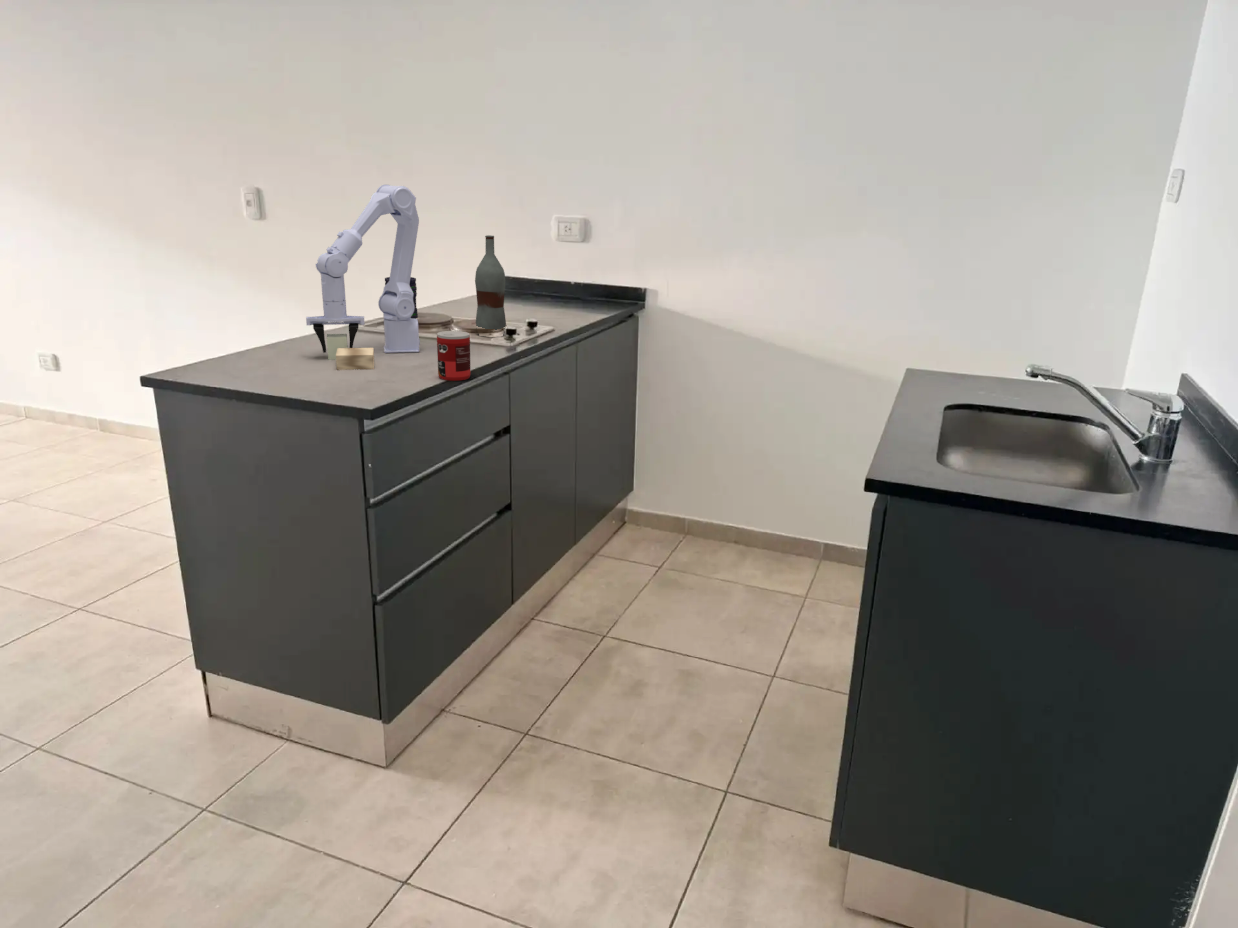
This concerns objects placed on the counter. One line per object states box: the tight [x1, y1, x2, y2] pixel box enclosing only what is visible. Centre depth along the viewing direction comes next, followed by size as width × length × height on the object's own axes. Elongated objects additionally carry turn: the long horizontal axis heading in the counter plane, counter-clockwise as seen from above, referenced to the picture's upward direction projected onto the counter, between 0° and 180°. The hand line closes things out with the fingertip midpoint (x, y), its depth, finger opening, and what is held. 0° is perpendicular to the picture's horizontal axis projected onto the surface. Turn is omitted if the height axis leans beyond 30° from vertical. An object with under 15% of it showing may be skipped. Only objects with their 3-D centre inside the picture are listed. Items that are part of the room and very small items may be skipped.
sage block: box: [326, 333, 349, 361], centre depth 225 cm, size 5×5×6 cm
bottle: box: [474, 234, 507, 330], centre depth 259 cm, size 9×9×30 cm
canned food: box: [436, 330, 471, 382], centre depth 209 cm, size 8×8×11 cm
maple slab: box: [335, 347, 375, 371], centre depth 218 cm, size 9×9×4 cm
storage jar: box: [384, 276, 419, 319], centre depth 271 cm, size 10×10×15 cm
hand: (337, 351), depth 226 cm, fingers open, 6 cm apart
